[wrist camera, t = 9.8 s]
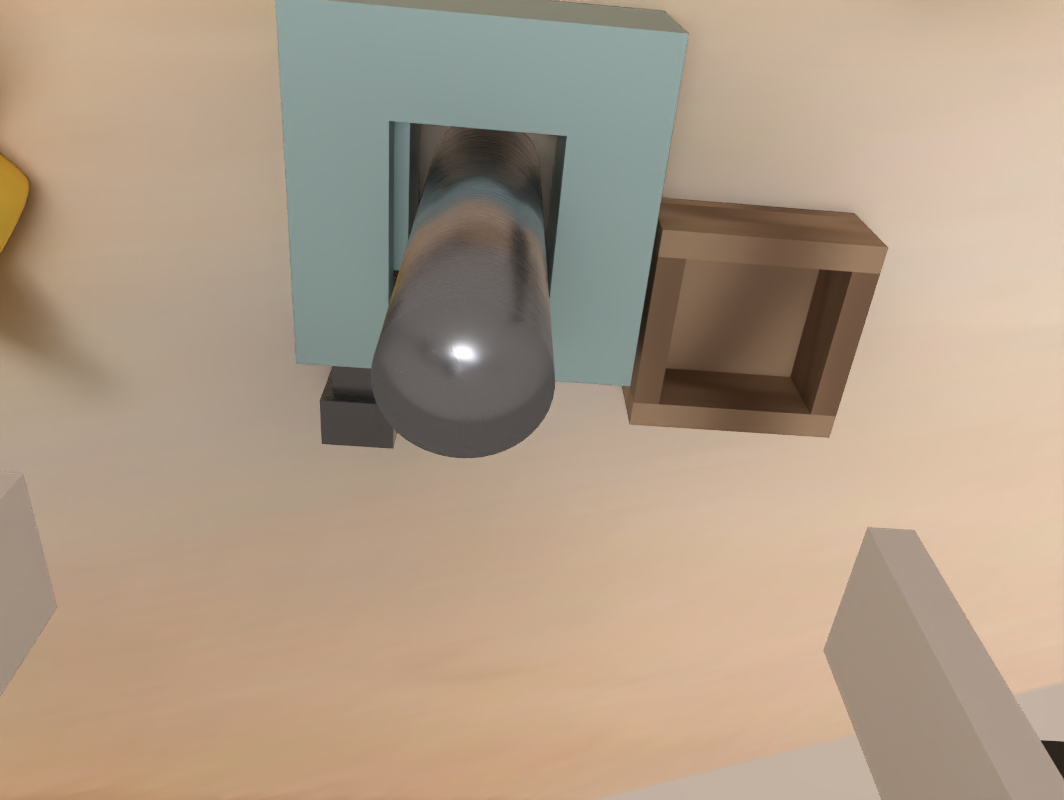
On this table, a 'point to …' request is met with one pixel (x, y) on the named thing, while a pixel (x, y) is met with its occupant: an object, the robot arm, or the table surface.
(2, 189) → the teapot
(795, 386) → the brown wooden tray
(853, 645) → the robot arm
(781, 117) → the table surface
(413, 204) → the chuck block
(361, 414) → the block
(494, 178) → the cylinder
